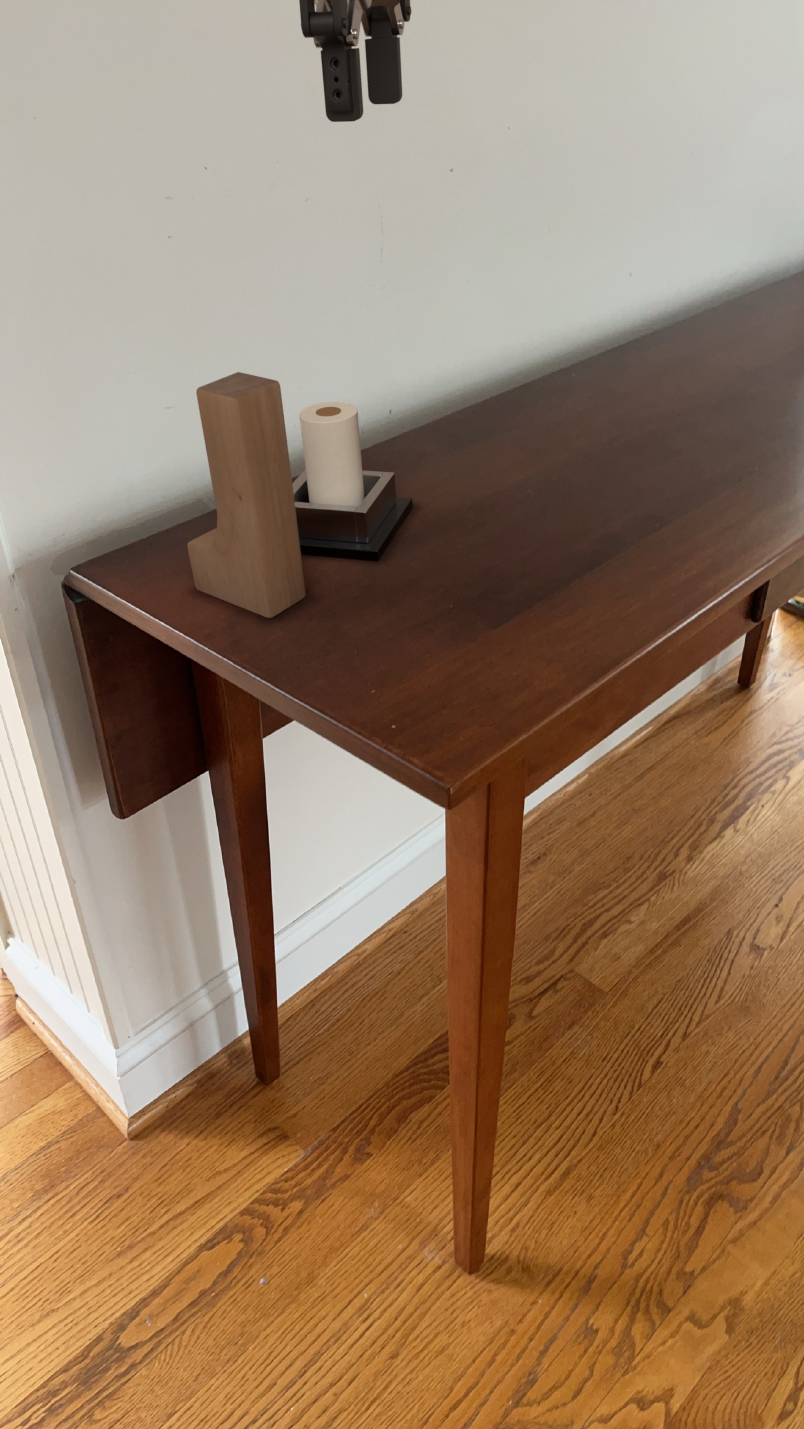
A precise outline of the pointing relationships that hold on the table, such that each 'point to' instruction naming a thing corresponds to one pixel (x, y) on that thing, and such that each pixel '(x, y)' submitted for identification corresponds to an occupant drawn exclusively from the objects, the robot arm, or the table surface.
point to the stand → (351, 520)
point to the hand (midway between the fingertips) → (366, 111)
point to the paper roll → (332, 454)
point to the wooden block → (248, 499)
